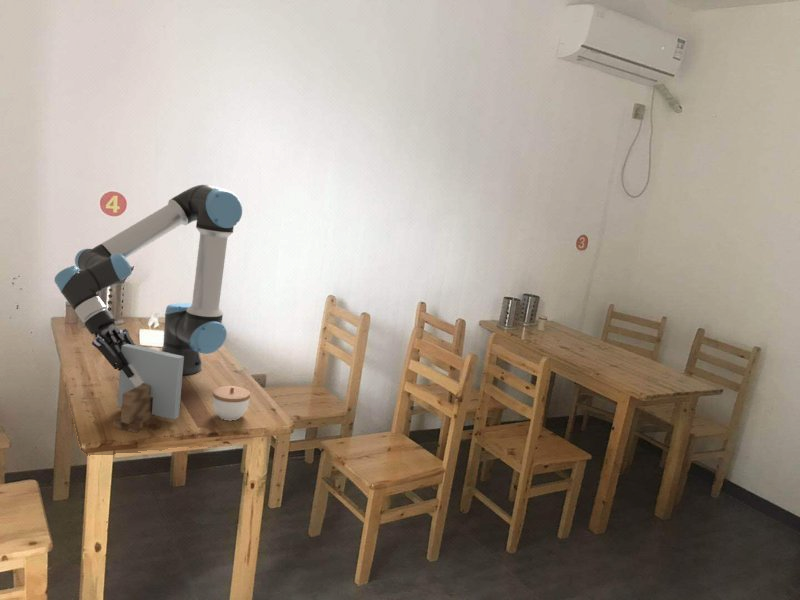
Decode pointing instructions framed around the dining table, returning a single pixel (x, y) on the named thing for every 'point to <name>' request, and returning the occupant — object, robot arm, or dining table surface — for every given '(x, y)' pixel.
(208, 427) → the dining table surface
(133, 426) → the walnut board
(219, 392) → the lidded jar
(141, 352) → the slotted plate
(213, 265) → the robot arm
